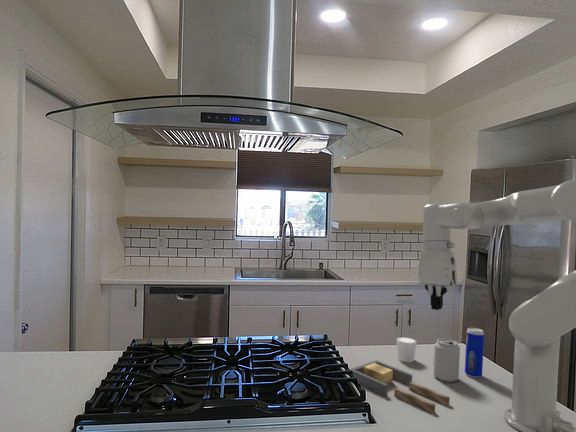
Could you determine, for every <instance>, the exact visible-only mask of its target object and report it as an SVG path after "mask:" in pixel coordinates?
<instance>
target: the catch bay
mask: <svg viewBox="0 0 576 432" xmlns="http://www.w3.org/2000/svg"><path fill="white" fill-rule="evenodd" d="M373 363H376V364H378V365H381V366H384V367H386V368H389V369H392V370H393V380H396V381H399V382H401V383H403V384H406V385H408V386H409V383H410V382H413V374H412V373H409V372H407V371H405V370H402V369H399V368H397V367H396V366H395V367H394V366H392V365H390V364H388V363H384V362H382V361H379V360H373V361H370V362H367V363H365V364H362V365H359V366H355V367H352V368H349V369H348V371H349V370H351V371H352V372H353V375H354V377H356V378H357V379H358V382H359V385H360V386H363V387H365V388H366V389H370V390H371V391H374V392H376V393H377V394H379V395H382V396H384V397H385V396H387V395H388V389H389V388H388V386H389V384H385V383H383V382H381V381H379V380H377V379H374V378H372V377H370V376H368V375H365V374H364V367H365V366H367V365H370V364H373Z"/></svg>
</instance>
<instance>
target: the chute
mask: <svg viewBox="0 0 576 432" xmlns="http://www.w3.org/2000/svg"><path fill="white" fill-rule="evenodd" d="M408 387H409V388H408V389H409V390H410V391H412V392H414V393H417V394H419V395H421V396H423V397H426V398H428V399H430V398H431V400H433V399H434V400H433V401H435V402H437V401H438V403H441V404H442V405H444V404H445V405H444V406H449V405H450V399H451V398H450V396H447V395H446V394H442V393H440V392H438V391H435V390H433V389H430V388H428V387H426V386H423V385H422V384H419V383H416V382H414V381H412V382H410V383H409V385H408ZM393 394H394V396H393V397H397V398H399V399H400V400H402V401H405V402H407V403H410V404H411V405H413V406H416V407H418V408H420V409H422V410H424V411H426V412H429V413H430V414H434V413H436V404H435V403H433V402H430V401H428V400H426V399H423V398H422V397H419V396H417V395H415V394H412V393H410V392H408V391H406V390H403V389H401V388H399V387H396V388H394V393H393Z"/></svg>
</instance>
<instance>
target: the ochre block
mask: <svg viewBox="0 0 576 432" xmlns="http://www.w3.org/2000/svg"><path fill="white" fill-rule="evenodd" d="M364 374H365V375H368V376H370V377H372V378H374V379H377V380H379V381H381V382H383V383H385V384H388V385H389V384H392V383H393V380H394V378H393V370H392V369H389V368H386V367H384V366H381V365H378V364H376V363H373V364H370V365H367V366H365V367H364Z"/></svg>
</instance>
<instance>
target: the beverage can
mask: <svg viewBox="0 0 576 432" xmlns="http://www.w3.org/2000/svg"><path fill="white" fill-rule="evenodd" d="M465 336H466V339H465V359H464V361H465V362H464V373H465V375H466V376H468V377H469V378H473V379H480V378H482V376H483V365H484V362H483V361H484V342H485V333H484V330H483V329H480V328H478V327H468V328H467V330H466V335H465Z"/></svg>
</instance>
